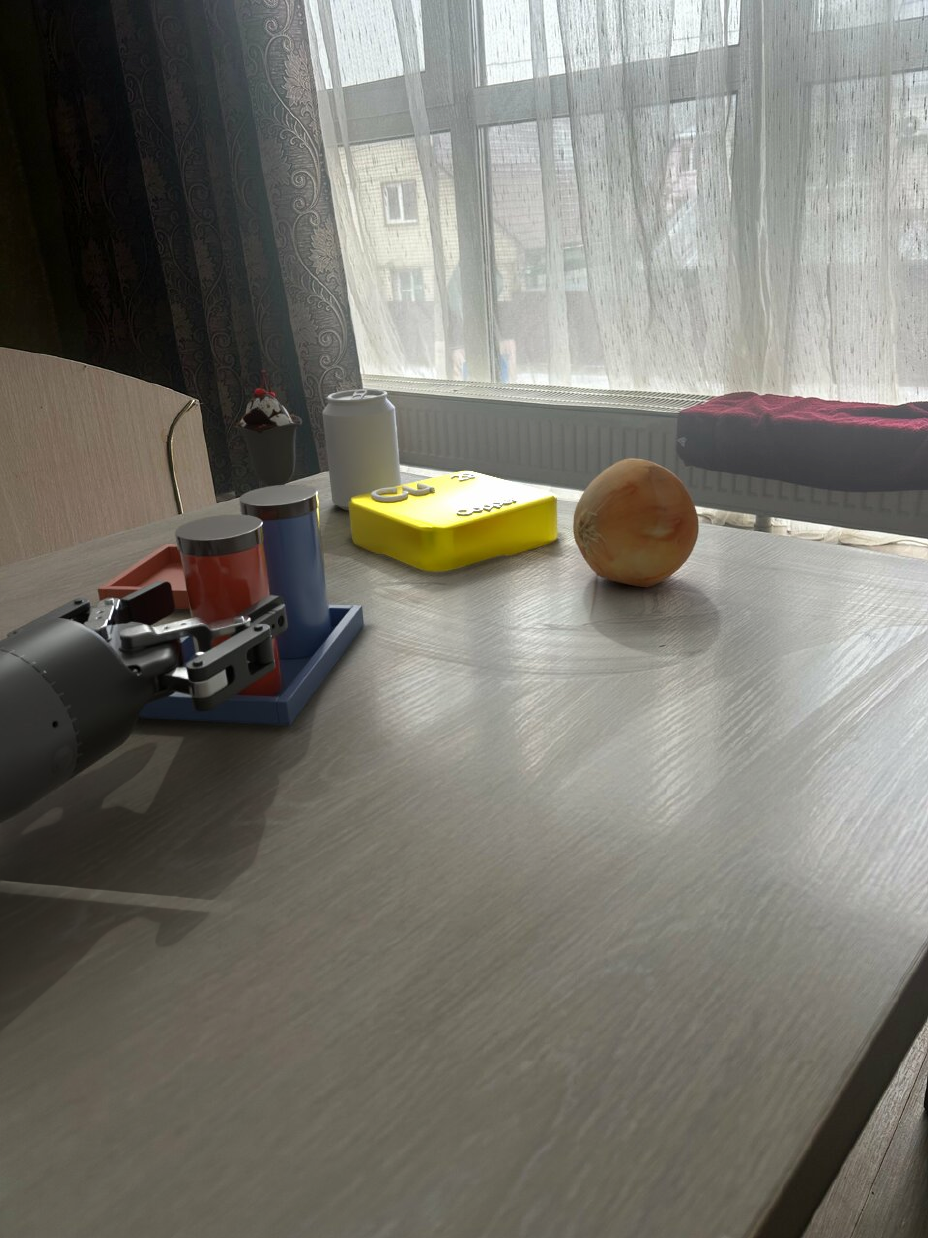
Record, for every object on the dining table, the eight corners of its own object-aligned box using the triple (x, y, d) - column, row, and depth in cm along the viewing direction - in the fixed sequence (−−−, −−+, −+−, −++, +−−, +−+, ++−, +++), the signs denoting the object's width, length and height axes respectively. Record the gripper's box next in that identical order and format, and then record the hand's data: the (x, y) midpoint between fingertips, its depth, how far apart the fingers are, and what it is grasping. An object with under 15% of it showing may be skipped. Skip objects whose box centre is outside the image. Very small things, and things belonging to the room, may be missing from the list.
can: (322, 514, 101) (309, 399, 97) (347, 495, 108) (335, 386, 104) (390, 516, 100) (380, 398, 95) (411, 496, 106) (402, 385, 102)
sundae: (291, 506, 105) (273, 365, 100) (324, 517, 101) (307, 370, 95) (237, 519, 102) (215, 374, 96) (269, 532, 97) (247, 379, 91)
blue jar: (249, 658, 67) (226, 505, 63) (277, 628, 72) (257, 484, 68) (320, 661, 66) (301, 505, 62) (344, 631, 71) (327, 484, 66)
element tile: (434, 581, 81) (430, 526, 79) (344, 542, 92) (339, 493, 91) (567, 540, 89) (566, 489, 87) (469, 509, 100) (467, 463, 99)
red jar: (189, 706, 61) (158, 539, 57) (224, 670, 65) (198, 514, 61) (267, 710, 60) (241, 540, 56) (296, 673, 64) (275, 514, 60)
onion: (547, 585, 79) (545, 464, 75) (626, 554, 85) (627, 441, 81) (642, 615, 72) (644, 484, 68) (720, 579, 78) (726, 457, 74)
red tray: (102, 612, 78) (97, 588, 78) (168, 565, 89) (164, 543, 88) (244, 616, 76) (240, 591, 75) (295, 567, 86) (293, 545, 85)
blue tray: (118, 724, 60) (112, 694, 60) (222, 627, 74) (218, 601, 73) (291, 733, 58) (286, 702, 57) (365, 631, 72) (362, 605, 71)
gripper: (110, 673, 42) (313, 554, 55) (-111, 633, 48) (122, 534, 61) (142, 819, 45) (327, 672, 58) (-70, 765, 50) (144, 643, 64)
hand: (222, 602), depth 60 cm, fingers open, 8 cm apart
